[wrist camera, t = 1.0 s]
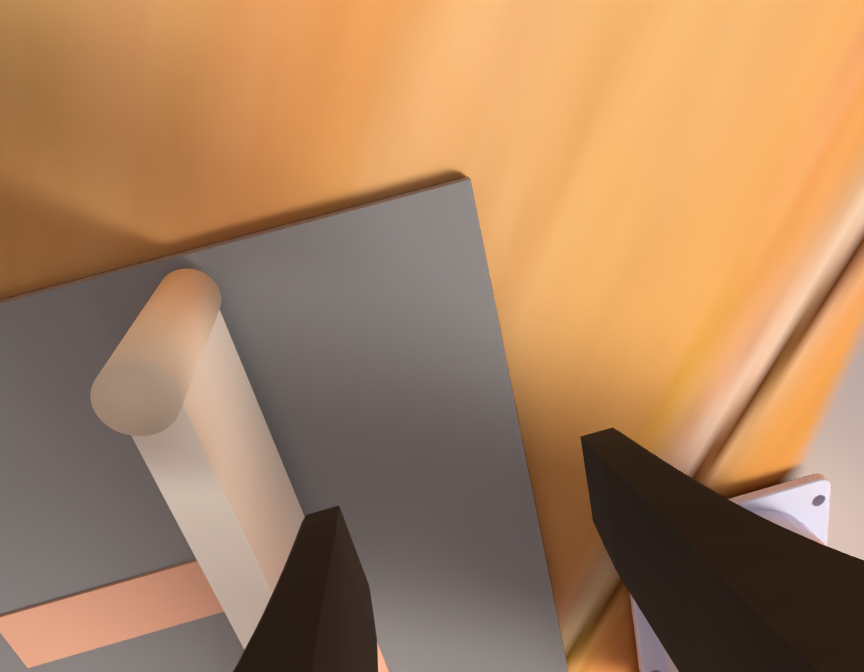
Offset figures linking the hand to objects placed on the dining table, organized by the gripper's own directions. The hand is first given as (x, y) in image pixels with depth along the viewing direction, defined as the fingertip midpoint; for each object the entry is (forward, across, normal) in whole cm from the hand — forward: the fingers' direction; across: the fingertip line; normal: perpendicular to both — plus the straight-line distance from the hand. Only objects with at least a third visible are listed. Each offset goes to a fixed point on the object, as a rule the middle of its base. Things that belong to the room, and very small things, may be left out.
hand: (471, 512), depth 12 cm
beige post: (+8, +5, +2) cm, 10 cm away
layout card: (+8, +7, +7) cm, 13 cm away
